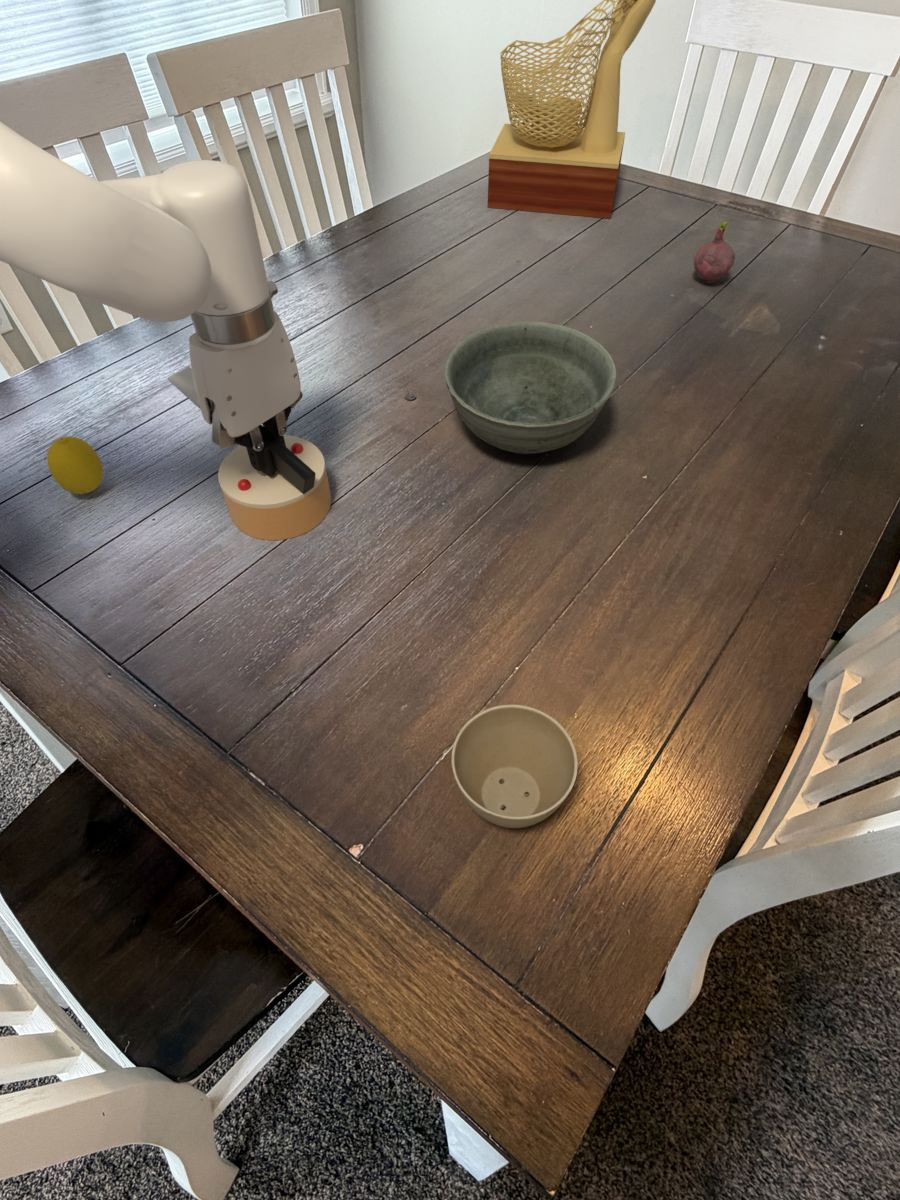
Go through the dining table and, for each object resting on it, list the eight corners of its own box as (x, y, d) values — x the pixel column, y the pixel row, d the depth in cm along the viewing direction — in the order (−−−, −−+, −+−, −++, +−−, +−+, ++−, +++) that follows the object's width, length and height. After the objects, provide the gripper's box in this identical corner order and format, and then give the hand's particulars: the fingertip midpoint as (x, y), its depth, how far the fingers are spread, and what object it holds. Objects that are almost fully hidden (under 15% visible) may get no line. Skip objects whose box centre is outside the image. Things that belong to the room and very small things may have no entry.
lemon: (56, 504, 87) (26, 451, 81) (79, 474, 91) (51, 421, 85) (99, 509, 87) (72, 456, 81) (120, 479, 90) (95, 426, 84)
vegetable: (683, 286, 119) (699, 223, 112) (696, 270, 123) (712, 208, 115) (719, 296, 117) (738, 232, 110) (731, 280, 121) (750, 217, 113)
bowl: (626, 412, 98) (641, 345, 90) (567, 508, 86) (577, 440, 79) (488, 371, 104) (490, 305, 97) (415, 455, 93) (411, 388, 85)
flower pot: (510, 725, 68) (515, 683, 62) (591, 801, 63) (604, 763, 58) (428, 791, 64) (425, 752, 58) (507, 878, 59) (513, 845, 53)
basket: (626, 184, 145) (664, -48, 118) (618, 223, 134) (659, -24, 107) (502, 173, 149) (513, -54, 122) (485, 211, 138) (493, -30, 111)
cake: (208, 510, 87) (193, 467, 82) (283, 458, 92) (273, 416, 87) (277, 556, 82) (266, 514, 77) (352, 498, 88) (345, 456, 83)
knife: (298, 498, 80) (300, 484, 77) (167, 379, 83) (165, 363, 80) (318, 483, 81) (320, 469, 79) (188, 368, 84) (187, 351, 82)
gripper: (268, 270, 74) (298, 420, 88) (139, 335, 66) (195, 488, 80) (320, 293, 71) (343, 445, 85) (191, 364, 63) (240, 518, 77)
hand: (271, 465), depth 82 cm, fingers closed on knife, 1 cm apart
